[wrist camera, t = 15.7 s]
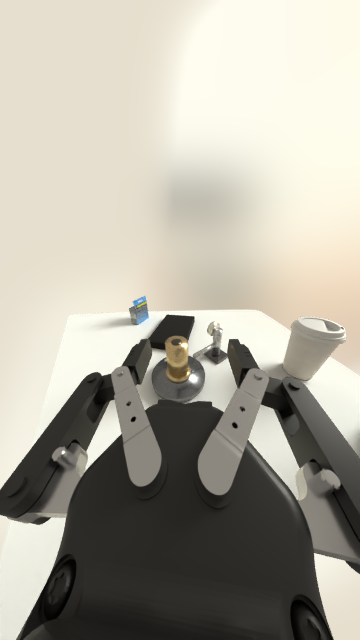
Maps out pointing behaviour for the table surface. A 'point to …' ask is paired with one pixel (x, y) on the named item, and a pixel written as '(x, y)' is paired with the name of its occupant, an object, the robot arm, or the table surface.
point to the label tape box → (139, 311)
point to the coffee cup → (311, 345)
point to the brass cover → (177, 359)
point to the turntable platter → (178, 391)
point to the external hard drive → (171, 330)
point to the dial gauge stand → (213, 345)
